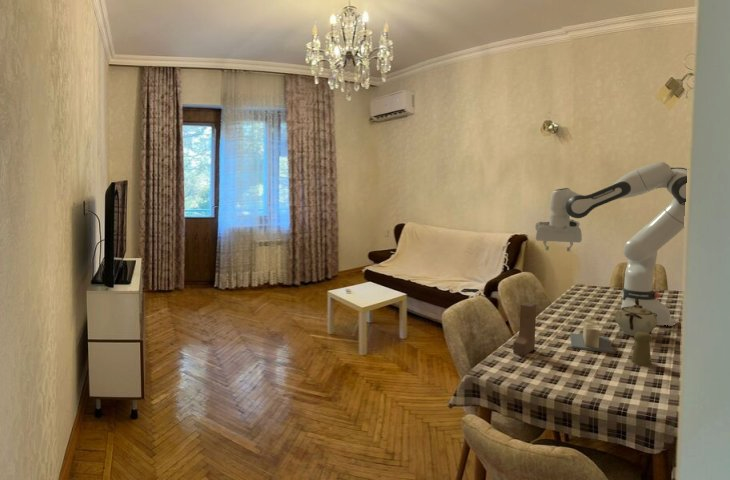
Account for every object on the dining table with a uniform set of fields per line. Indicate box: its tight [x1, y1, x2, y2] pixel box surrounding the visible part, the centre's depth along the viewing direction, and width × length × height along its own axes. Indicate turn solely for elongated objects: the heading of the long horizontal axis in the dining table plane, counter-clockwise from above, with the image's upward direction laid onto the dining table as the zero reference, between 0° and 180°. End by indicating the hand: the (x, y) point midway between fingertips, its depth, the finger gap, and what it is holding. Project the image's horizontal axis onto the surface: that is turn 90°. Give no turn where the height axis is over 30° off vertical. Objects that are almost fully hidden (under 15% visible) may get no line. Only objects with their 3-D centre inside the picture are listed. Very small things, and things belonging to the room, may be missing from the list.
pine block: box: [582, 318, 601, 348], centre depth 170 cm, size 4×7×14 cm
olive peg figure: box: [630, 332, 653, 367], centre depth 151 cm, size 6×6×11 cm
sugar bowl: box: [614, 299, 658, 337], centre depth 180 cm, size 20×15×15 cm
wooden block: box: [512, 302, 537, 357], centre depth 162 cm, size 9×4×18 cm, turn 134°
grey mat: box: [569, 332, 614, 354], centre depth 170 cm, size 14×16×1 cm
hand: (557, 250), depth 206 cm, fingers open, 8 cm apart
